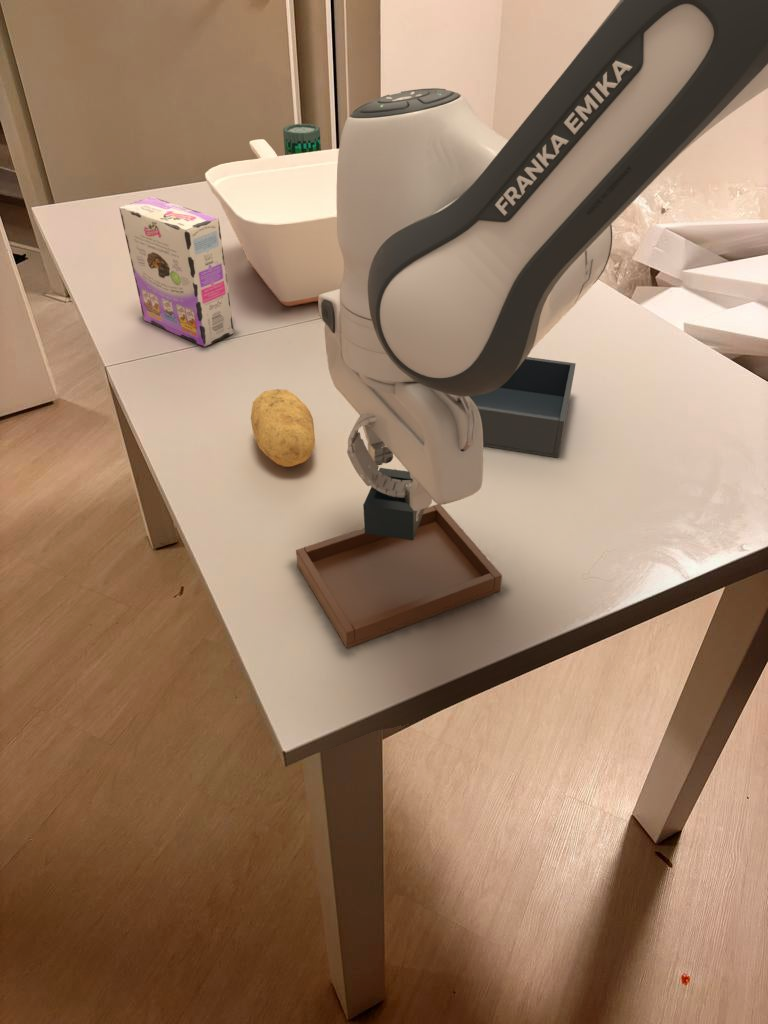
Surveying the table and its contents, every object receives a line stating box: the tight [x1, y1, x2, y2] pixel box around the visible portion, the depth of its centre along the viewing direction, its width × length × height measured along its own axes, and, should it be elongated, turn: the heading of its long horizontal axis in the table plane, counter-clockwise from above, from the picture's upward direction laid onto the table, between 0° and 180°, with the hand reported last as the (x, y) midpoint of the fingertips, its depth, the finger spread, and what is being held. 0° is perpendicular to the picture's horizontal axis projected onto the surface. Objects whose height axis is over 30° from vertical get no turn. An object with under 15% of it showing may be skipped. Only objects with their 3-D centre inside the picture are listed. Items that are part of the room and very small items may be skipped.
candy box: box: [118, 196, 235, 348], centre depth 109 cm, size 14×6×16 cm, turn 51°
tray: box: [295, 503, 503, 649], centre depth 75 cm, size 16×12×2 cm
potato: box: [250, 388, 316, 468], centre depth 89 cm, size 7×11×6 cm, turn 18°
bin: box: [469, 356, 577, 459], centre depth 95 cm, size 13×13×5 cm
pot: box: [204, 138, 344, 307], centre depth 128 cm, size 29×44×15 cm, turn 24°
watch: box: [346, 413, 425, 540], centre depth 68 cm, size 6×8×11 cm
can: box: [282, 123, 322, 155], centre depth 144 cm, size 6×6×15 cm
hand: (398, 481), depth 68 cm, fingers closed on watch, 5 cm apart
